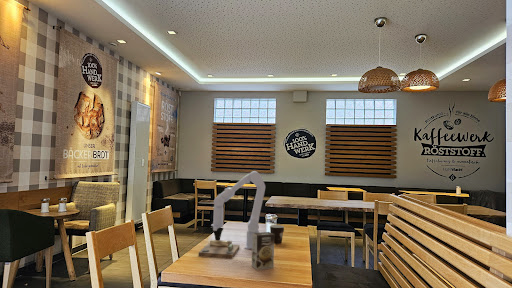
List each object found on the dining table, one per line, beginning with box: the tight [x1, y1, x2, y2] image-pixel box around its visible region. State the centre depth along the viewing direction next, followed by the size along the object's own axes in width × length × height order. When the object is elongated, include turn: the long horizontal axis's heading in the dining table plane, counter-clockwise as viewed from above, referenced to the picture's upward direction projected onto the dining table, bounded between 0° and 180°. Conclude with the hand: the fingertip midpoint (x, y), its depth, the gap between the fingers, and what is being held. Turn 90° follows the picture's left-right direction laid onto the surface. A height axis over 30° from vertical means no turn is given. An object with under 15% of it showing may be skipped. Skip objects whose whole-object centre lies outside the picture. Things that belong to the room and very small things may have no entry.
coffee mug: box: [269, 224, 285, 245], centre depth 216 cm, size 12×9×10 cm
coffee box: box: [251, 231, 275, 271], centre depth 167 cm, size 9×6×16 cm
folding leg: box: [209, 239, 233, 246], centre depth 197 cm, size 12×3×3 cm, turn 82°
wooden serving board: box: [198, 242, 240, 259], centre depth 191 cm, size 18×20×4 cm
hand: (217, 240), depth 201 cm, fingers closed
